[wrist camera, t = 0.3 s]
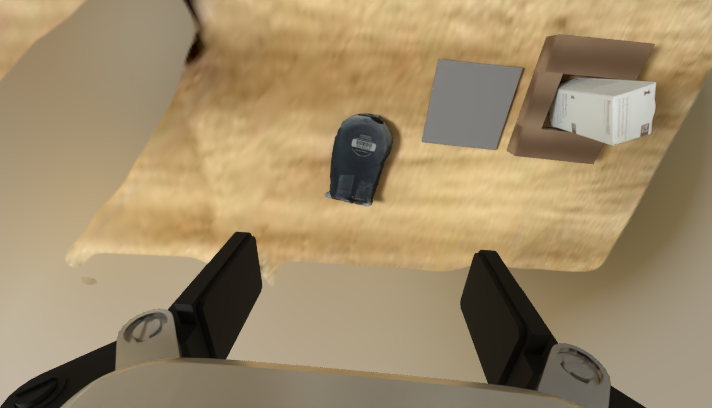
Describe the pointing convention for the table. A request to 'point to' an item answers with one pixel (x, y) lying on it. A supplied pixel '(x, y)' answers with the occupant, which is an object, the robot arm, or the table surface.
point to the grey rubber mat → (469, 103)
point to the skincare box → (604, 108)
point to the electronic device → (359, 158)
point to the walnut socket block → (554, 62)
